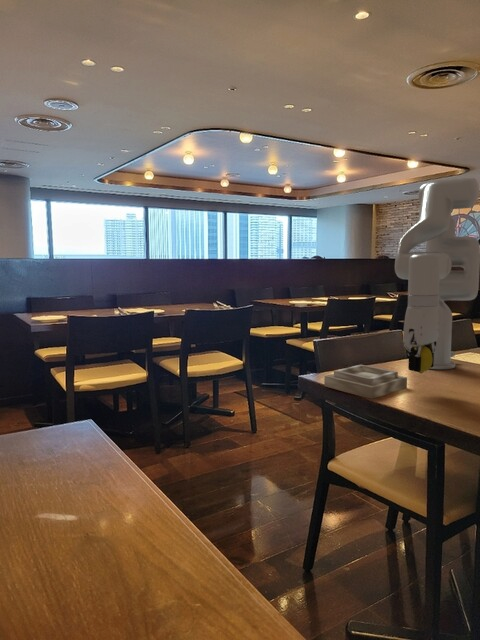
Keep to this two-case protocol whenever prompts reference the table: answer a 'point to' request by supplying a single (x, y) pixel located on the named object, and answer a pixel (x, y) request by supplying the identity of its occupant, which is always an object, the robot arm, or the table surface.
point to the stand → (366, 381)
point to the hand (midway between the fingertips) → (421, 367)
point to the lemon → (425, 358)
